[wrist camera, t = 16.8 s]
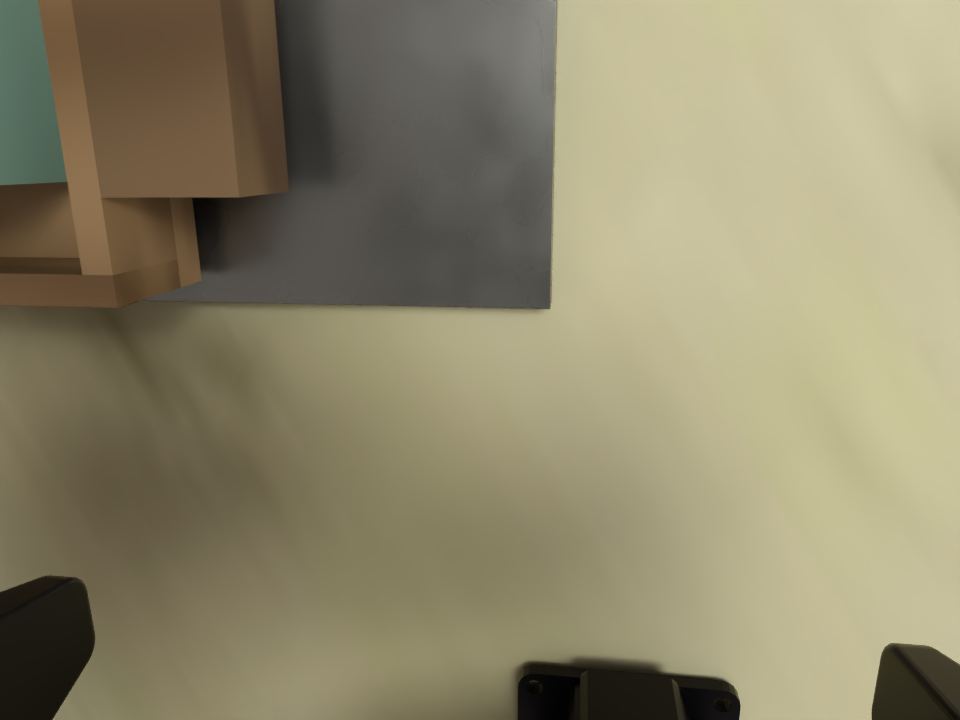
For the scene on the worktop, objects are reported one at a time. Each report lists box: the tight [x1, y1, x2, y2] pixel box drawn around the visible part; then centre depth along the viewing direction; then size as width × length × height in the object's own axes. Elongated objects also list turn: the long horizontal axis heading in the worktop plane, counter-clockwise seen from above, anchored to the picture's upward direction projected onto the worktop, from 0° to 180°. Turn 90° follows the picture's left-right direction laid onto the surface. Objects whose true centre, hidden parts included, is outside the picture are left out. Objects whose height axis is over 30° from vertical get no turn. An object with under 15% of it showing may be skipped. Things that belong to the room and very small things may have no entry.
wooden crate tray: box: [0, 0, 289, 308], centre depth 16 cm, size 10×12×4 cm
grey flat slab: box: [144, 0, 557, 309], centre depth 17 cm, size 11×20×3 cm, turn 90°
